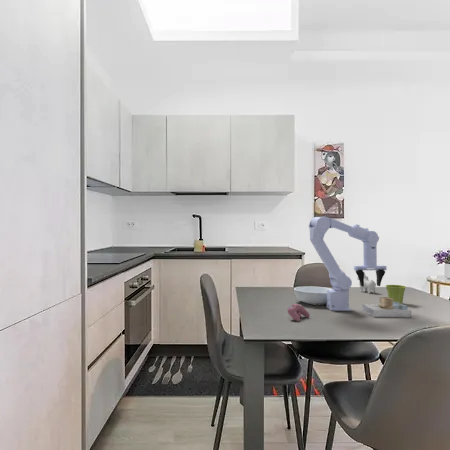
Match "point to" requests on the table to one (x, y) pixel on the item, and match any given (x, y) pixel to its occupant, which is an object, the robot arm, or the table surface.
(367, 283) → the dog figurine
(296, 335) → the table surface
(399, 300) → the plant pot
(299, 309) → the video game controller
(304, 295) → the serving bowl
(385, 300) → the tan tall block
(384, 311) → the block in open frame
